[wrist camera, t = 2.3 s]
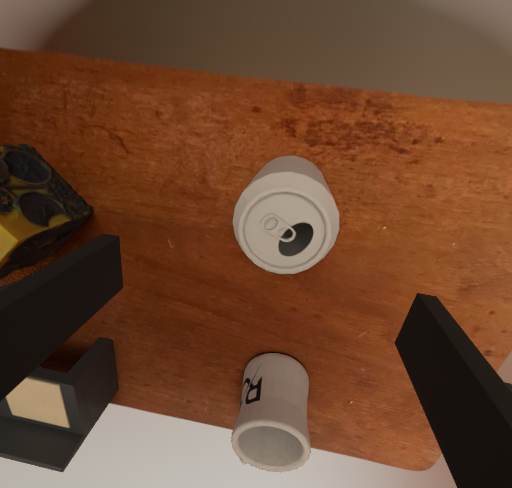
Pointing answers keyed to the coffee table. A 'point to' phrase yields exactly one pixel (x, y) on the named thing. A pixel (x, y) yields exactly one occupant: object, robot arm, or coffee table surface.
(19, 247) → the candle
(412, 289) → the coffee table surface
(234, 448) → the mug
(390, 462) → the coffee table surface
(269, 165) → the can
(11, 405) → the shelf
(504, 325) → the coffee table surface
